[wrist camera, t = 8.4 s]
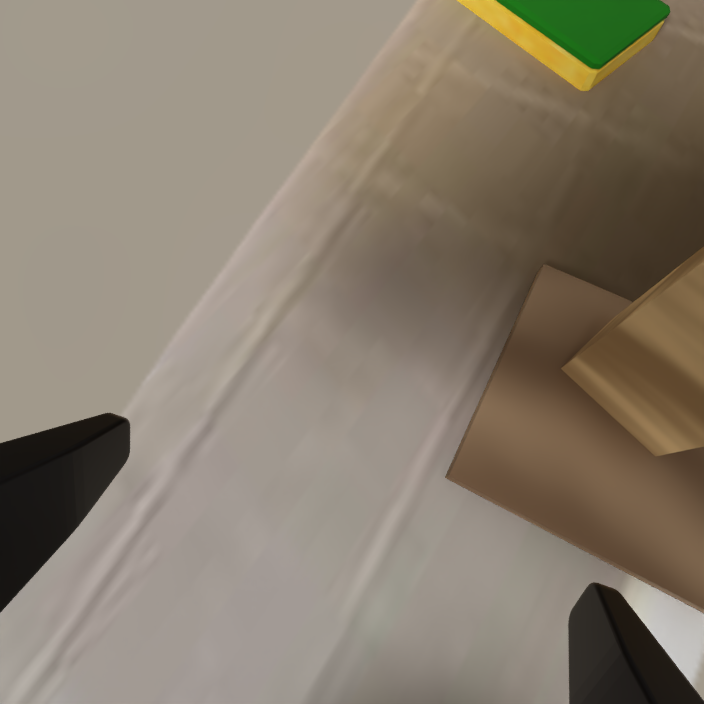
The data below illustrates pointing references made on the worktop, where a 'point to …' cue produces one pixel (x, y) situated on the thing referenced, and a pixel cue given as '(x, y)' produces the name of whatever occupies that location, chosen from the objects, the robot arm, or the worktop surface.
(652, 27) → the dish sponge
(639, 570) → the base board
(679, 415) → the wooden block
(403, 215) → the worktop surface
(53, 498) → the robot arm
